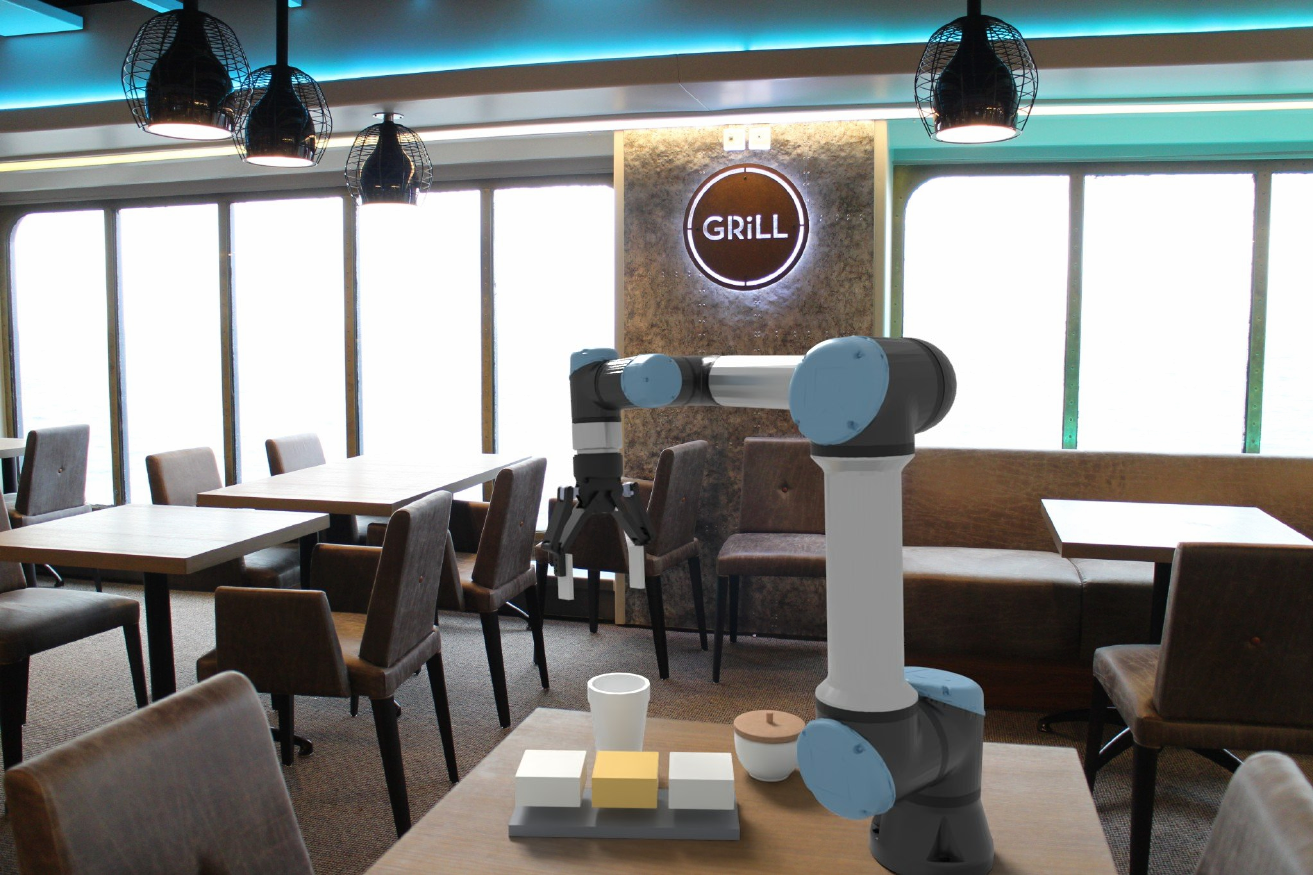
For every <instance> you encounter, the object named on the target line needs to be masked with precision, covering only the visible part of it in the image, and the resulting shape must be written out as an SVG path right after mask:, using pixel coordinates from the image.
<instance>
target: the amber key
mask: <svg viewBox="0 0 1313 875" xmlns="http://www.w3.org/2000/svg"><path fill="white" fill-rule="evenodd" d="M659 753H660V752H659V751H642V752H637V751H597V754H596V756H595V761H594V766H593V771H592V773H591V774H592V775H591V788H592V807H609V808H657V797H658V789H659V781H660V780H659V776H660V775H659V774H660V773H659V772H660V771H659V768H660V767H659V762H660V758H659V757H660V754H659Z"/></svg>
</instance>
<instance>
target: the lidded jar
mask: <svg viewBox="0 0 1313 875" xmlns="http://www.w3.org/2000/svg"><path fill="white" fill-rule="evenodd" d="M806 725H807V724H806V722H805V721H804V720H803V719H802V718H801V717H799V716H797V715H796V714H795V715H794V714H792V713H789V712H786V711H781V710H773V709H772V710H771V709H770V710H769V709H761V710H760V709H757V710H751V711H747V712H744V713H741V714H739V715H738V716H736V717H735V719H733V732H734V733H733V734H734V736H733V737H734V747H735V752H736V756H737V758H738V761H739V763H740V764H741V766H742V767H743V768H744V769H745V771H747V772H748V775H749V777H751V778H753V779H755V780H758V781H761V782H766V783H767V782H770V783H771V782H772V783H773V782H775V783H776V782H780V781H784V780H787V779H788V778H789V777H790V775H791V773H793V772H794V771H795V770H796V769H797V768H798V763H797V758H796V744H797V739H798V736H799V734H800V732H801V731H802V730H804V728H805V726H806Z"/></svg>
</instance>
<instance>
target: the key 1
mask: <svg viewBox="0 0 1313 875" xmlns="http://www.w3.org/2000/svg"><path fill="white" fill-rule="evenodd" d="M587 752H588V751H587V750H567V749H566V750H560V749H558V750H557V749H552V750H551V749H525V751H524V753H523V755H522V758H521V761H520V763H519V765H518V768H517V771H516V773H515V776H514V785H515V786H514V788H515V790H514V791H515V792H514V793H515V795H514V796H515V803H514V805H515V806H550V807H580V805H581V801H582V797H583V792H584V788H586V787H585V786H586V782H587V779H588V778H587V775H588V774H587V771H588V770H587V768H588V767H587V764H588V763H587V760H588V759H587V757H588V756H587Z"/></svg>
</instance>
